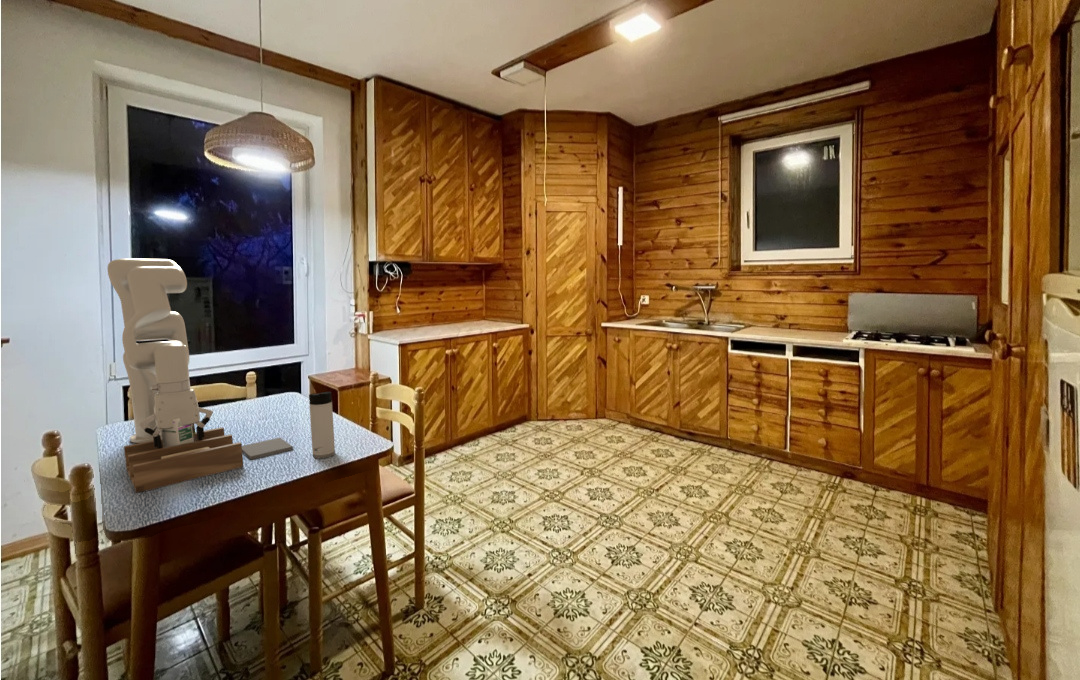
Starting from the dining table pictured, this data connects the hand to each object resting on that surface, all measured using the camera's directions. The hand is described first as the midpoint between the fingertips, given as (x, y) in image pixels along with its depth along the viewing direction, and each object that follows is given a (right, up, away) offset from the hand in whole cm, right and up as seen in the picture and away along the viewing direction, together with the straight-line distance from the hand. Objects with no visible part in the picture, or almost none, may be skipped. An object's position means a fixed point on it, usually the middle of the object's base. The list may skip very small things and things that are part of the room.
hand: (180, 444), depth 142 cm
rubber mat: (+18, -4, +12) cm, 22 cm away
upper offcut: (+7, -4, -6) cm, 10 cm away
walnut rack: (+3, -6, -3) cm, 8 cm away
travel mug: (+39, -5, +8) cm, 40 cm away
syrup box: (0, -6, +1) cm, 6 cm away
